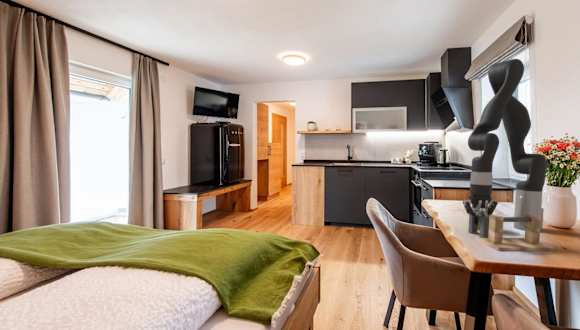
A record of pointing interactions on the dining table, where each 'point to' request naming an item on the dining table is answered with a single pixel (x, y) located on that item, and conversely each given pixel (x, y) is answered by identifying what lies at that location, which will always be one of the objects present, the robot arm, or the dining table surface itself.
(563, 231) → the dining table surface
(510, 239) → the bar rack
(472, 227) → the rubber u
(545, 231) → the dining table surface
